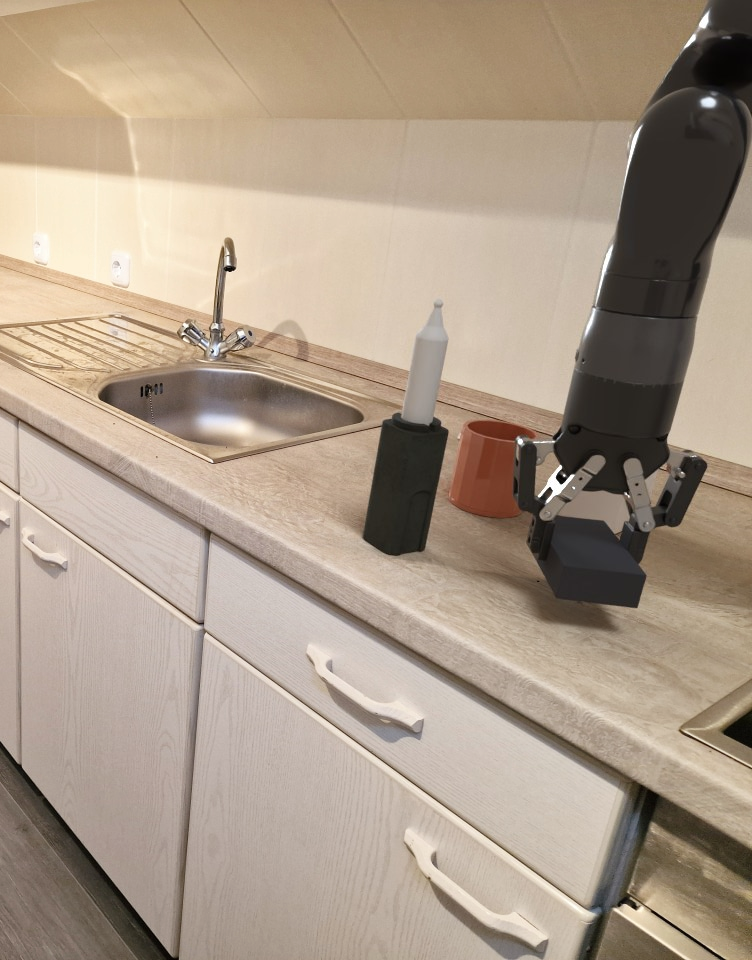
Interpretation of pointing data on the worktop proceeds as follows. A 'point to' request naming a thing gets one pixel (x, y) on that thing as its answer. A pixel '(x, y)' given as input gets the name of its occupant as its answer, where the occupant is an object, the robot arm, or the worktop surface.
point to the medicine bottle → (603, 506)
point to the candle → (410, 452)
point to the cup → (486, 468)
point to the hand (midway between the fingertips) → (580, 560)
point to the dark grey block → (591, 564)
